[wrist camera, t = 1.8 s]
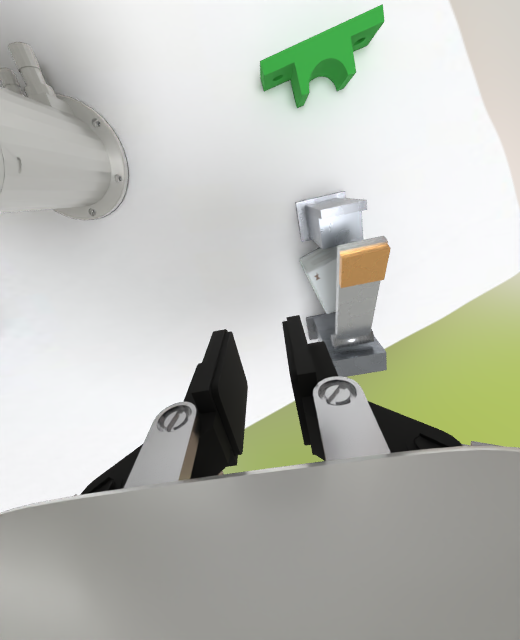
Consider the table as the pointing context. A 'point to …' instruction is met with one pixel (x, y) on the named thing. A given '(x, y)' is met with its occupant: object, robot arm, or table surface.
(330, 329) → the hinge post
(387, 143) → the table surface
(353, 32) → the pipe clamp
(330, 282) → the product box
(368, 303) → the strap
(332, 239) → the lug block
